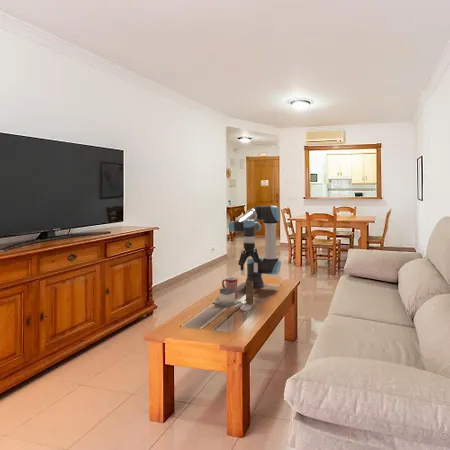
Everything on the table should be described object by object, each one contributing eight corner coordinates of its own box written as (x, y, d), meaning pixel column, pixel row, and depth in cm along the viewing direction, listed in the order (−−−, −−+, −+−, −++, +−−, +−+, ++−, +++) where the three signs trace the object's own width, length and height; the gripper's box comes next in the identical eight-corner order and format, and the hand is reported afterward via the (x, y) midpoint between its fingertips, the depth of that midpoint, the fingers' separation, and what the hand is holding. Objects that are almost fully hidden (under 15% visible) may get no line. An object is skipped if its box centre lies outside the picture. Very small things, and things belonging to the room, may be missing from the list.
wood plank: (248, 302, 292) (248, 280, 290) (253, 303, 289) (253, 281, 288) (246, 303, 289) (245, 281, 288) (250, 304, 287) (250, 282, 285)
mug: (240, 296, 308) (240, 277, 307) (233, 298, 301) (233, 280, 300) (226, 293, 316) (226, 275, 315) (219, 296, 309) (219, 278, 307)
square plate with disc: (226, 299, 300) (226, 285, 299) (241, 302, 290) (241, 288, 289) (212, 303, 290) (212, 289, 289) (227, 306, 280) (227, 292, 279)
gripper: (256, 240, 297) (256, 270, 299) (232, 243, 279) (232, 275, 281) (265, 241, 292) (265, 271, 294) (241, 244, 274) (241, 277, 276)
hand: (249, 273), depth 287 cm, fingers open, 13 cm apart
